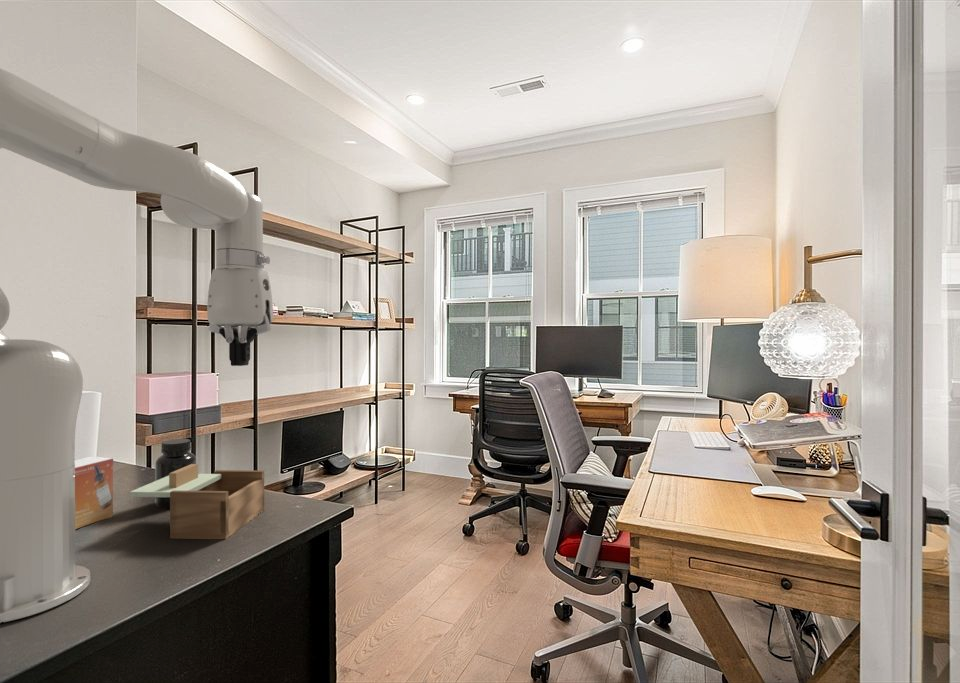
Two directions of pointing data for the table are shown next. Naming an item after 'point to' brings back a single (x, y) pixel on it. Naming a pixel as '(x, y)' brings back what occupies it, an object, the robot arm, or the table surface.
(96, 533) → the table surface
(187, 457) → the supplement bottle
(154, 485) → the lid
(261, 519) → the table surface
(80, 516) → the small box
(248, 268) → the robot arm
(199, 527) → the brown wooden box
